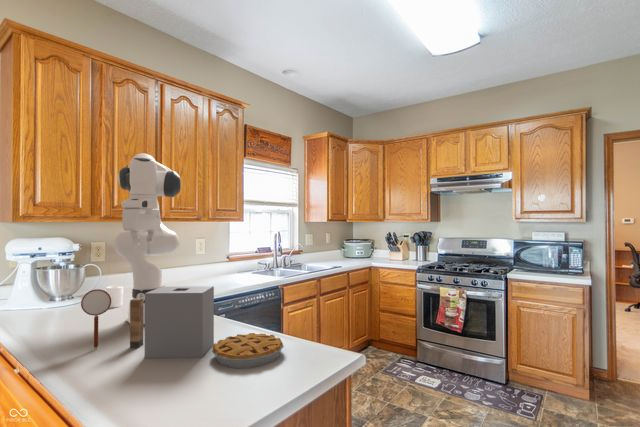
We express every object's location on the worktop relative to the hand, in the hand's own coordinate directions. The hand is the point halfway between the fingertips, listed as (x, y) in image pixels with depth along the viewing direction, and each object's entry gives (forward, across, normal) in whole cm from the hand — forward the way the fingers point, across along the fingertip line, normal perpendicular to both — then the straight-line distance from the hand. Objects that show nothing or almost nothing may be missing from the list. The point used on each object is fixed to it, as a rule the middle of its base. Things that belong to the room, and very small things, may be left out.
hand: (143, 243), depth 125 cm
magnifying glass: (+35, +6, -13) cm, 38 cm away
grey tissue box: (+35, +7, +16) cm, 39 cm away
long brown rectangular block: (+35, +2, -1) cm, 35 cm away
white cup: (+37, -58, -43) cm, 81 cm away
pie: (+35, +12, +39) cm, 54 cm away
